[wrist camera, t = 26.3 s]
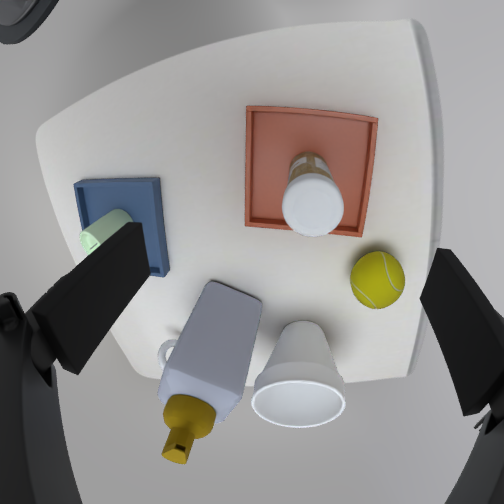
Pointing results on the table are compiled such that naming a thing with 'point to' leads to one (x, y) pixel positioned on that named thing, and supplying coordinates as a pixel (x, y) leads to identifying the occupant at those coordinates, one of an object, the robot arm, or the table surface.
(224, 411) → the soap bottle
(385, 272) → the tennis ball
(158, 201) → the blue tray
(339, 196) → the sprinkles bottle
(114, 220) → the candle
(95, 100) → the table surface
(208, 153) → the table surface
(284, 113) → the terracotta tray
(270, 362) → the cup
